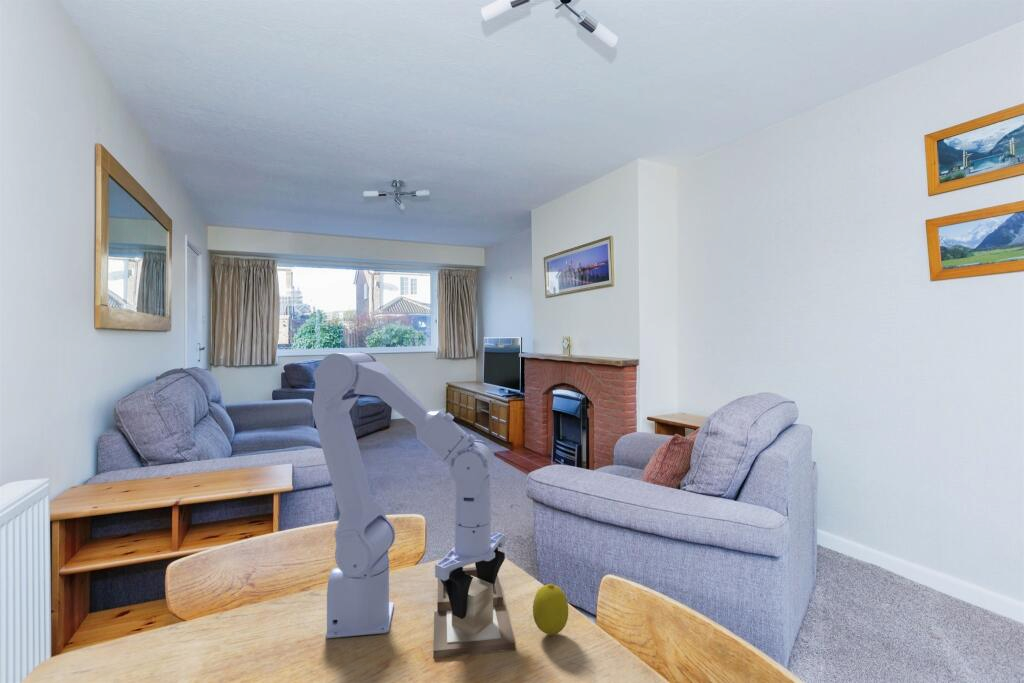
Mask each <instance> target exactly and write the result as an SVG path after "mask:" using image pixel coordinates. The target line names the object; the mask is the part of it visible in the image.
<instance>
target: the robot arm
mask: <svg viewBox="0 0 1024 683" xmlns="http://www.w3.org/2000/svg"><path fill="white" fill-rule="evenodd" d="M312 375H313V379H314V383H315V386H314V392H313V399H312V400H313V401H312V405H311V410H312V412H311V413H312V416H313V419H314V423H315V426H316V430H317V434H318V439H319V441H320V445H321V448H322V452H323V455H324V460H325V464H326V467H327V470H328V474H329V478H330V481H331V486H332V488H333V492H334V496H335V500H336V503H337V507H338V511H339V514H340V515H339V519H338V520H337V524H336V527H335V530H334V538H335V542H336V546H335V553H334V559H335V560H334V561H335V564H336V566H337V567H333V568H332V569H331V570H330V572H329V578H328V580H327V591H326V632H325V638H326V639H333V638H342V637H343V638H344V637H354V636H364V635H365V636H366V635H376V634H378V635H379V634H387V633H388V632H389V631H390V628H391V623H392V616H393V612H394V611H393V610H394V602H392V601H390V557H389V549H390V548H392V546H393V544H394V542H395V540H396V531H395V527H394V525H393V523H392V522H391V520H390V519H388V517H387V515H386V514H385V509H384V508H383V506H382V505H380V504H379V503H377V502H376V501H375V500H374V497H373V493H372V490H371V487H370V483H369V479H368V475H367V473H366V468H365V465H364V461H363V457H362V454H361V450H360V447H359V442H358V439H357V435H356V433H355V427H354V425H353V421H352V418H351V414H350V411H351V409H352V408H353V407H354V404H355V403H356V402H357V400H358V398H360V395H361V396H362V395H364V396H374V397H378V398H379V399H380V400H382V402H384V403H385V404H387V405H388V406H389V407H390V408H392V410H395V412H396V413H398V414H399V415H401V416H402V418H405V420H407V421H408V422H409V423H411V424H412V425H413V426H414V427H415V434H416V438H417V440H419V442H421V443H422V444H423V445H424V446H425V447H426V448H427V449H429V450H430V451H431V452H432V453H433V454H434V455H436V457H438V458H439V459H440V460H441V461H442V462H443V463H444V464H445V465H447V466H449V473H450V476H451V478H452V479H453V481H454V482H455V484H454V486H455V488H454V540H453V541H454V546H453V547H452V548H451V550H449V552H448V553H447V554H446V555H445V556H444V557H443V558H442V559H441V560H440V561H438V562H437V563H435V565H434V577H435V578H436V579H437V580H438V579H440V580H441V582H442V583H443V588H445V591H446V594H447V598H449V601H450V604H451V609H452V613H453V615H454V616H456V617H459V618H461V619H463V618H465V616H466V612H467V598H468V591H469V587H470V584H471V581H472V579H473V577H472V576H469V575H467V574H465V571H463V568H465V566H469V565H472V564H474V565H475V567H476V571H477V578H479V579H481V580H484V581H486V582H489V583H491V584H493V588H494V584H495V581H496V577H497V574H498V575H499V571H500V569H501V566H502V565H503V563H504V561H505V559H506V554H505V552H503V551H500V550H499V548H501V549H502V548H504V547H505V546H506V534H504V533H501V532H498V531H495V532H491V530H492V527H491V524H492V521H491V520H492V519H491V518H492V515H491V514H492V513H491V512H492V511H491V510H492V507H491V506H492V501H491V500H492V499H491V498H492V491H491V474H489V472H490V471H491V469H492V468H493V466H494V465H493V464H494V461H495V460H494V454H493V451H492V449H491V448H490V446H489V445H488V444H487V442H485V441H483V440H480V439H477V437H476V436H475V435H474V434H472V433H471V434H469V433H467V432H466V431H465V430H464V429H463V428H461V427H460V425H458V424H457V423H456V422H454V421H453V420H454V419H455V416H454V415H453V414H451V413H450V412H447V413H445V412H444V411H443V410H430V409H429V408H428V407H427V406H426V405H425V404H424V403H423V402H422V401H421V400H420V399H419V398H417V397H416V395H414V394H413V393H412V391H411V390H409V388H407V387H406V386H405V385H404V384H403V382H401V381H400V380H399V379H398V378H397V376H395V375H394V374H393V373H392V372H391V371H390V370H389V367H387V365H386V364H384V363H383V362H381V361H378V360H377V358H376V357H375V356H374V355H373V354H371V353H369V352H366V351H358V352H354V353H351V352H350V353H349V352H347V353H341V352H332V353H330V354H328V355H327V356H325V357H324V358H322V360H321V362H319V365H318V366H316V368H315V369H314V372H312Z"/></svg>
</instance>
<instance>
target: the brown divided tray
mask: <svg viewBox="0 0 1024 683" xmlns="http://www.w3.org/2000/svg"><path fill="white" fill-rule="evenodd" d="M463 571H465V574H467V575H469V576H471V575H472V576H474V577H476V578H477V571H476V566H475V567H463ZM436 601H437V602H436V604H437V608H436V610H437V611H434V612H433V615H434V616H433V644H432V645H433V649H432V650H433V651H432V652H433V653H432V656H433V657H432V658H442V657H453V656H462V655H464V656H465V655H473V654H474V655H475V654H484V653H493V652H504V651H513V650H516V641H515V636H514V633H513V628H512V625H511V622H510V621H511V620H510V617H509V613H508V609H507V608H508V607H507V605H504V596H503V590H502V587H501V583H500V579H499V573H498V574H497V577H496V581H495V584H494V588H493V622H492V623H491V624H490V625H488V626H487V627H486V628H484V629H483V630H482V631H481V632H479V633H478V634H477V635H475V636H474V637H473V636H471V635H469V634H468V633H466V632H464V631H462V630H460V629H458V628H456V627H454V626H452V609H451V604H450V601H449V597H446V598H444V585H443V583H442V582H441V580H440V579H438V578H437V600H436Z"/></svg>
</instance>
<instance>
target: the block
mask: <svg viewBox="0 0 1024 683" xmlns="http://www.w3.org/2000/svg"><path fill="white" fill-rule="evenodd" d="M471 576H472V575H471ZM472 577H473V579H472V581H471V584H470V587H469V591H468V598H467V612H466V616H465V618H463V619H461V618H459V617H456V616H454V615H453V613H452V626H454V627H456V628H458V629H460V630H462V631H464V632H466V633H468V634H469V635H471V636H473V637H474V636H475V635H477V634H478V633H479V632H481V631H482V630H483V629H484V628H486V627H487V626H488V625H490V624H491V623H492V622H493V584H491V583H489V582H486V581H484V580H481V579H479V578H476V577H474V576H472Z"/></svg>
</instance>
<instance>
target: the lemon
mask: <svg viewBox="0 0 1024 683" xmlns="http://www.w3.org/2000/svg"><path fill="white" fill-rule="evenodd" d="M532 615H533V616H532V617H533V621H534V623H535V625H536V626H537V628H538V629H539V630H540V631H541V632H542V633H543V634H545V635H548V636H549V637H552V636H554V635H556V634H558V633H561V632H562V631H563V630H564V628H565V626H566V625H567V623H568V619H569V603H568V599H567V596H566V594H565V592H564V591H563V590H562V589H561V587H559V586H558V585H555V584H553V583H548V584H545V585H542V586H541V587H540V588H539V589H538V590H537V592H535V596H534V599H533V604H532Z"/></svg>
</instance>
